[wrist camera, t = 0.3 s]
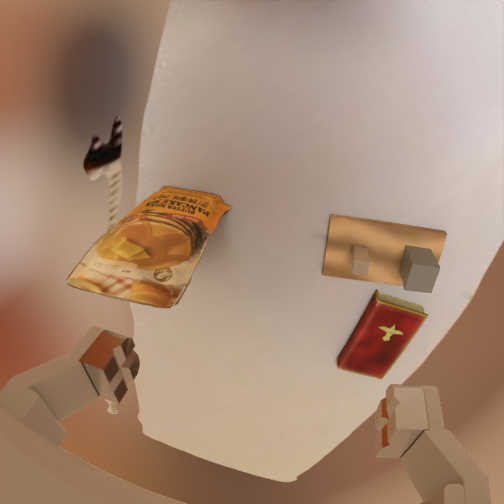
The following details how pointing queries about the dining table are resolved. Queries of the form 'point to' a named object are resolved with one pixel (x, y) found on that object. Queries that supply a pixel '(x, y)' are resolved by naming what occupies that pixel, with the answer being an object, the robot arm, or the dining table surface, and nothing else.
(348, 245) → the board
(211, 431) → the dining table surface
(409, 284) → the gray rectangular block
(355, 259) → the post
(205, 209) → the pancake mix bag
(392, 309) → the hardcover book
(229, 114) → the dining table surface
